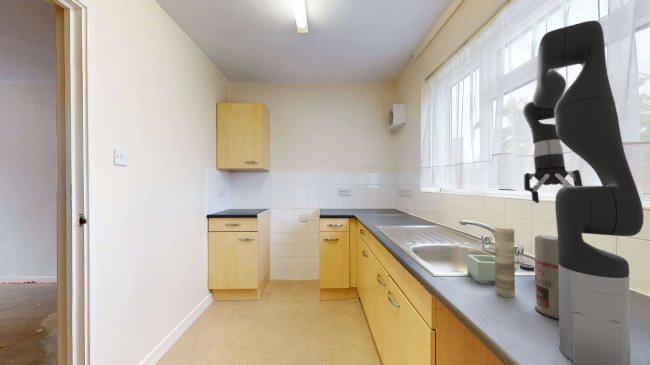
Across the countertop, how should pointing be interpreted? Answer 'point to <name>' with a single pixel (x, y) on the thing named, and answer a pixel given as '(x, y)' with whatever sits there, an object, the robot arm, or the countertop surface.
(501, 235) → the birch dowel
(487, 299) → the countertop surface
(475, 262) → the pale green open box
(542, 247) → the white labelled canister
